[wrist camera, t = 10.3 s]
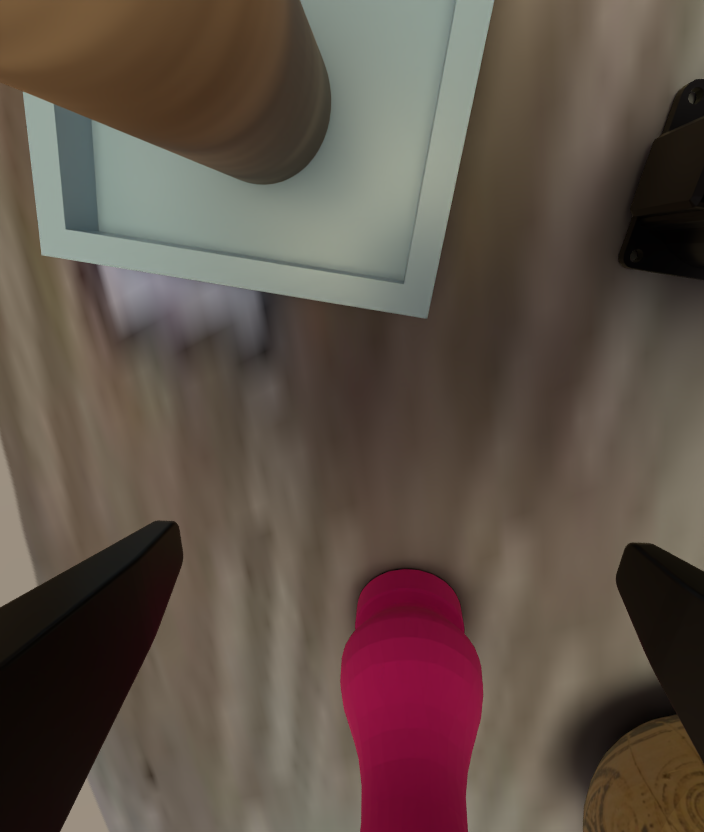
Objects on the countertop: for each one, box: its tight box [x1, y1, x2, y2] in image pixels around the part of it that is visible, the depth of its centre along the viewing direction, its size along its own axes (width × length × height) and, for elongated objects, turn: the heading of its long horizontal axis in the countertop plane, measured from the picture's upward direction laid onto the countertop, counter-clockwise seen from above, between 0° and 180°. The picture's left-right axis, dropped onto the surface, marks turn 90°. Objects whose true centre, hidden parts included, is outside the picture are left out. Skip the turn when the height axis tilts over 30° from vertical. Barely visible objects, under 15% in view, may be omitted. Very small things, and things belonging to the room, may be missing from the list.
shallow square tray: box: [23, 0, 494, 319], centre depth 15 cm, size 14×12×5 cm
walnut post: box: [0, 0, 331, 185], centre depth 9 cm, size 5×5×13 cm
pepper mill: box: [340, 569, 483, 832], centre depth 17 cm, size 7×7×20 cm
